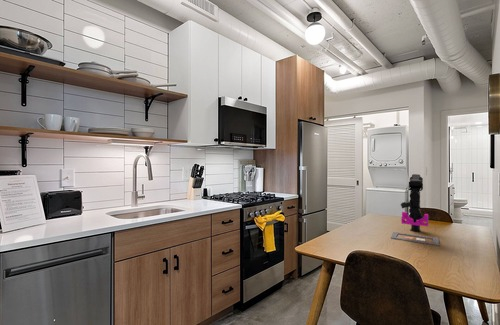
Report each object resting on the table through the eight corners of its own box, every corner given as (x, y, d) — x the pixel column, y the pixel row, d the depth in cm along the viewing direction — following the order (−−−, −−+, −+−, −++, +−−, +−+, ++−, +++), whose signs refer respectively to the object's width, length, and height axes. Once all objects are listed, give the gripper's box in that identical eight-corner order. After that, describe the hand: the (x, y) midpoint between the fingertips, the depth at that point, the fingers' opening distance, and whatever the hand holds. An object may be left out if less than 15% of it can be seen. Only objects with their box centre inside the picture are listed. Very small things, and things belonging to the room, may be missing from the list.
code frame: (393, 232, 194) (393, 231, 194) (438, 238, 179) (438, 238, 179) (390, 238, 179) (390, 237, 179) (439, 245, 164) (439, 244, 164)
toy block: (401, 223, 181) (401, 212, 181) (402, 222, 186) (402, 211, 186) (427, 226, 172) (427, 215, 172) (428, 225, 177) (428, 214, 177)
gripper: (402, 196, 191) (402, 217, 191) (400, 199, 175) (400, 222, 175) (420, 197, 185) (420, 219, 185) (420, 200, 169) (419, 224, 169)
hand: (414, 221), depth 179 cm, fingers closed on toy block, 6 cm apart
